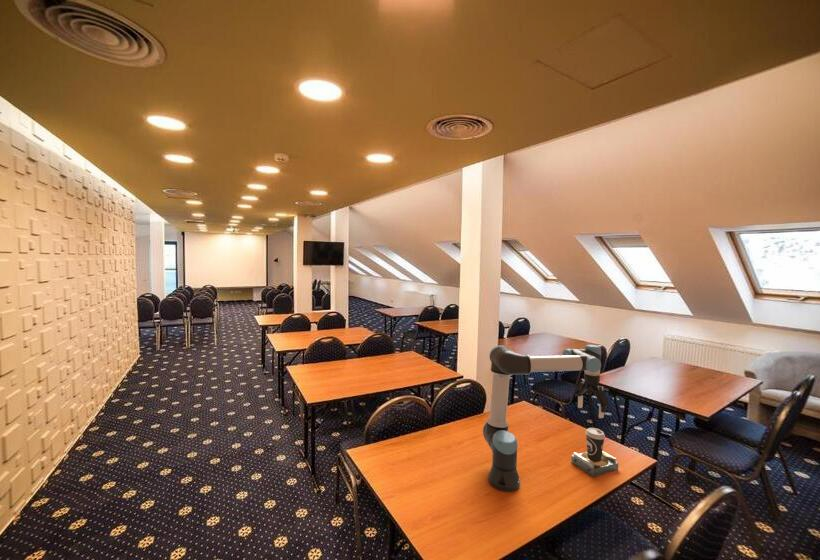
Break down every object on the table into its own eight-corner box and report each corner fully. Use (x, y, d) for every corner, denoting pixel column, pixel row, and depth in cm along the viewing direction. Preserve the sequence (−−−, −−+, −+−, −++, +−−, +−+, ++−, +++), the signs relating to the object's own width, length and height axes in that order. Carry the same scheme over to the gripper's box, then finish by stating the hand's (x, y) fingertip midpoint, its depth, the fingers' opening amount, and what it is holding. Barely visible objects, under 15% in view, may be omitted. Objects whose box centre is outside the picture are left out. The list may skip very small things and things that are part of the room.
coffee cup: (602, 465, 179) (603, 437, 178) (582, 459, 185) (583, 431, 184) (605, 457, 187) (606, 430, 186) (586, 451, 192) (587, 425, 192)
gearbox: (592, 477, 176) (592, 466, 176) (570, 462, 189) (570, 452, 189) (618, 470, 182) (618, 459, 182) (595, 456, 195) (595, 446, 195)
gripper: (618, 380, 175) (616, 421, 176) (578, 366, 198) (577, 403, 199) (607, 381, 172) (605, 423, 173) (568, 367, 196) (567, 404, 196)
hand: (590, 412), depth 186 cm, fingers open, 13 cm apart
